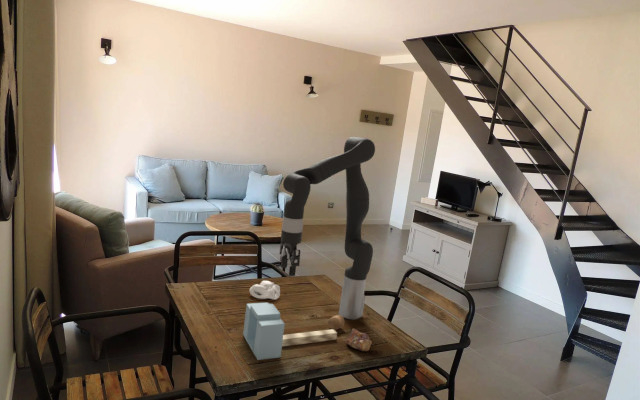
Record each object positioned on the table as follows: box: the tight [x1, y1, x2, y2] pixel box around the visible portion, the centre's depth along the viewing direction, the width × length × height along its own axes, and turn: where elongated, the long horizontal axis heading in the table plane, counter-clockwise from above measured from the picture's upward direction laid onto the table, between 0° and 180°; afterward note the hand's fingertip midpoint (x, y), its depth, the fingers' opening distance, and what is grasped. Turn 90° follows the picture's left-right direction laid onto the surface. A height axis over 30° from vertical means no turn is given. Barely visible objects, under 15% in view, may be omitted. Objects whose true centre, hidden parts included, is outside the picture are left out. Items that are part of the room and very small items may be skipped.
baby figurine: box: [249, 280, 281, 301], centre depth 197 cm, size 9×13×9 cm
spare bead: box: [327, 314, 345, 331], centre depth 175 cm, size 4×5×5 cm
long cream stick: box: [282, 328, 338, 347], centre depth 162 cm, size 22×3×3 cm, turn 117°
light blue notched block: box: [242, 302, 286, 361], centre depth 153 cm, size 8×17×14 cm, turn 26°
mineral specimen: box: [346, 327, 373, 352], centre depth 163 cm, size 12×8×7 cm
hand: (287, 271), depth 165 cm, fingers open, 8 cm apart
